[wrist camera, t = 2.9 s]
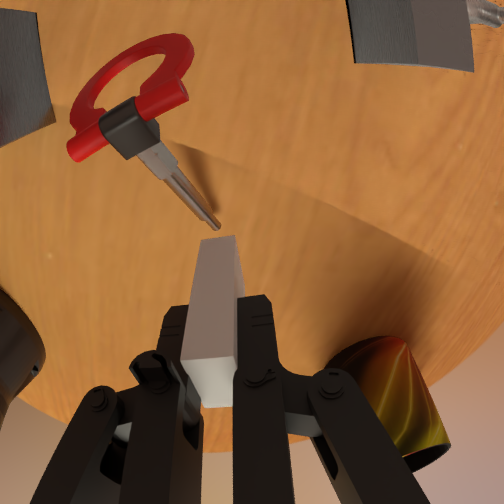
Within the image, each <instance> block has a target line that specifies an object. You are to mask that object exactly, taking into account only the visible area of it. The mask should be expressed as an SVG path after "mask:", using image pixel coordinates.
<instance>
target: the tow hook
mask: <svg viewBox="0 0 504 504" xmlns="http://www.w3.org/2000/svg"><path fill="white" fill-rule="evenodd" d="M155 54H165V55H166V56H165V59H164V61H163V63H162V64H161V65H160V66H159V68H158V69H157V70H156V71H155V72H154V73H153V74H152V75H151V76H150V77H149V78H148V79H147V80H146V81H145V82H144V83H143V84H142V85H141V87H140V95H139V96H137V97H136V96H133V97H131V98H129V99H127V100H126V101H124V102H122V103H121V104H119V105H117V106H116V107H114V108H113V109H111V110H109V111H108V112H107V111H106V110H105V109H104V108H99V109H94V107H93V106H94V103H95V100H96V98H97V97H98V95H99V93H100V92H101V90H102V89H103V88H104V87H105V85H106V84H107V83H108V82H109V81H110V80H111V79H112V78H113V77H115V76H116V75H117V74H118V73H119V72H120V71H122V70H123V69H125V68H126V67H128V66H129V65H131V64H133V63H134V62H136V61H138V60H140V59H143V58H145V57H147V56H151V55H155ZM194 55H195V54H194V48H193V45H192V43H191V42H190V40H189V39H188V38H187V37H186V36H185V35H182V34H176V33H171V34H163V35H159V36H155V37H152V38H149V39H147V40H144V41H142V42H140V43H138V44H136V45H134V46H132V47H130V48H128V49H127V50H125V51H123V52H122V53H120V54H119V55H118V56H116V57H115V58H113V59H112V60H110V61H109V62H108V63H107V64H106V65H105V66H103V67H102V68H101V69H100V70H99V71H98V72H97V73H96V74H95V75H94V76H93V77H92V78H91V79H90V80H89V81H88V82H87V84H86V85H85V86H84V87H83V89H82V90H81V91H80V93H79V94H78V96H77V98H76V100H75V101H74V103H73V106H72V109H71V112H70V124H71V125H72V127H73V128H74V129H75V130H76V136H74V137H73V138H71V139H70V140H69V141H68V142H67V146H66V147H67V151H68V154H69V156H70V157H71V158H72V159H73V160H74V161H75V162H81V161H83V160H84V159H86V158H87V157H89V156H90V155H92V154H93V153H95V152H97V151H98V150H100V149H101V148H103V147H104V146H106V145H108V144H109V143H110V144H111V145H112V146H113V147H114V148H115V149H116V150H117V151H118V152H119V153H120V154H121V155H122V156H123V157H124V158H125V159H126V160H128V159H130V158H132V157H134V156H135V155H136V156H137V157H138V158H139V159H140V160H141V161H142V162H143V163H144V165H145V166H146V167H147V168H148V169H149V170H150V171H151V172H152V173H153V174H154V175H155V176H156V177H157V178H158V179H160V180H163V181H164V182H165V183H166V184H167V185H168V186H169V187H170V188H171V189H172V191H173V192H174V193H175V194H176V195H177V196H178V197H179V198H180V199H181V200H182V201H183V202H184V203H185V204H186V206H187V207H188V208H189V209H190V210H191V211H192V212H193V213H194V214H195V215H196V216H197V217H198V218H199V219H200V220H201V221H205V222H206V223H207V224H208V225H209V226H210V227H211V228H212V229H213V230H214V231H217V230H219V229H220V228H221V223H220V222H219V221H218V220H217V218H216V217H215V216H214V215H213V209H212V208H211V207H210V205H209V204H208V203H207V202H206V201H205V199H204V198H203V197H202V196H201V194H200V193H199V192H198V191H197V190H196V188H195V187H194V186H193V185H192V183H191V182H190V181H189V180H188V179H187V177H186V176H185V175H184V174H183V172H182V171H181V170H180V169H179V168H178V166H177V165H178V161H177V160H176V159H175V157H174V156H173V155H172V154H171V152H170V151H169V150H168V149H167V147H166V146H165V145H164V144H163V143H162V141H161V140H160V129H159V124H158V122H157V121H156V120H155V117H157V116H159V115H161V114H163V113H165V112H167V111H169V110H171V109H173V108H175V107H177V106H179V105H181V104H183V103H185V102H187V101H189V96H188V93H187V90H186V88H185V86H184V84H183V83H182V81H181V80H180V79H181V78H182V77H183V75H184V74H185V73H186V71H187V70H188V68H189V67H190V65H191V63H192V60H193V57H194Z"/></svg>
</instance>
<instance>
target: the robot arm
mask: <svg viewBox="0 0 504 504" xmlns="http://www.w3.org/2000/svg"><path fill="white" fill-rule="evenodd" d="M159 336H160V338H159V340H158V344H157V348H156V350H151V351H146V352H144V353H142V354H140V355H138V356H137V357H136V358H135V359H134V360H133V361H132V362H131V364H130V366H129V369H130V371H131V372H132V374H133V375H134V377H135V378H136V380H137V381H138V383H139V385H138V386H135V387H133V388H130V389H126V390H123V391H120V392H115V391H114V390H113V389H112V388H110V387H109V386H98V387H94V388H93V389H91V390H90V391H88V393H87V394H86V395H85V396H84V398H83V400H82V401H81V403H80V405H79V407H78V409H77V410H76V412H75V414H74V416H73V418H72V419H71V421H70V423H69V425H68V427H67V429H66V431H65V433H64V435H63V436H62V438H61V440H60V442H59V444H58V446H57V448H56V450H55V452H54V454H53V456H52V458H51V460H50V462H49V464H48V466H47V468H46V470H45V472H44V474H43V476H42V478H41V480H40V482H39V484H38V487H37V489H36V491H35V493H34V495H33V497H32V500H31V502H30V504H201V478H202V453H203V432H204V420H203V416H202V415H201V413H200V407H201V402H202V404H203V406H204V407H205V408H214V407H230V406H233V504H295V498H294V488H293V478H292V469H291V460H290V450H289V441H288V433H289V434H295V435H301V436H308V437H310V439H311V441H312V443H313V445H314V447H315V449H316V452H317V454H318V456H319V458H320V460H321V462H322V465H323V466H324V468H325V471H326V473H327V475H328V477H329V479H330V481H331V484H332V486H333V488H334V490H335V492H336V494H337V496H338V498H339V500H340V502H341V504H430V502H429V500H428V499H427V497H426V495H425V494H424V492H423V491H422V488H421V487H420V485H419V483H418V482H417V480H416V479H415V477H414V475H413V474H412V472H411V470H410V469H409V467H408V465H407V464H406V462H405V460H404V459H403V457H402V455H401V454H400V452H399V451H398V449H397V447H396V446H395V444H394V442H393V441H392V439H391V438H390V436H389V434H388V433H387V431H386V429H385V428H384V426H383V425H382V423H381V421H380V420H379V418H378V417H377V415H376V413H375V412H374V410H373V408H372V407H371V405H370V404H369V402H368V400H367V399H366V397H365V396H364V394H363V392H362V391H361V389H360V388H359V386H358V385H357V383H356V381H355V380H354V378H353V377H352V376H351V375H350V374H349V373H348V372H346V371H343V370H341V369H335V368H329V369H324V370H321V371H319V372H317V373H316V374H314V375H313V376H304V375H298V374H294V373H292V372H290V371H288V370H286V369H285V368H284V367H283V366H282V365H281V363H280V362H279V357H278V349H277V341H276V333H275V326H274V319H273V312H272V304H271V302H270V301H269V299H268V298H267V297H266V296H265V294H263V295H256V296H248V297H245V284H244V279H243V274H242V269H241V264H240V259H239V254H238V249H237V243H236V238H235V235H232V236H225V237H219V238H212V239H205V240H201V243H200V248H199V253H198V259H197V264H196V269H195V274H194V280H193V285H192V291H191V296H190V302H189V305H180V306H171V308H170V309H169V310H168V312H167V313H166V314H165V316H164V319H163V323H162V329H161V331H160V335H159ZM45 358H46V353H45V348H44V344H43V342H42V339H41V337H40V335H39V333H38V332H37V330H36V328H35V327H34V325H33V324H32V322H31V321H30V319H29V318H28V317H27V316H26V314H25V313H24V312H23V311H22V310H21V308H20V307H19V306H18V305H17V304H16V303H15V302H14V301H13V300H12V299H11V298H10V297H9V296H8V295H7V294H6V293H5V292H4V291H2V290H1V289H0V429H1V427H2V424H3V421H4V417H5V415H6V412H7V410H8V407H9V405H10V403H11V402H12V401H13V399H14V398H15V397H16V396H17V395H18V394H19V393H20V392H21V391H22V390H23V389H24V388H25V387H26V386H27V385H28V384H29V383H30V382H31V381H32V380H33V379H34V377H36V376H37V375H38V374H39V372H40V371H41V369H42V367H43V364H44V362H45Z"/></svg>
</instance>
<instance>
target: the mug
mask: <svg viewBox="0 0 504 504" xmlns="http://www.w3.org/2000/svg"><path fill="white" fill-rule="evenodd" d="M329 368H335V369H341V370H343V371H346V372H348V373H349V374H350V375H351V376H352V377H353V378H354V380H355V381H356V383H357V385H358V386H359V388H360V389H361V391H362V392H363V394H364V396H365V397H366V399H367V400H368V402H369V404H370V405H371V407H372V408H373V410H374V412H375V413H376V415H377V417H378V418H379V420H380V421H381V423H382V425H383V426H384V428H385V429H386V431H387V433H388V434H389V436H390V438H391V439H392V441H393V442H394V444H395V446H396V447H397V449H398V451H399V452H400V454H401V455H402V457H403V459H404V460H405V462H406V464H407V465H408V467H409V469H410V470H411V472H412V473H413V472H416V471H418V470H420V469H422V468H423V467H425V466H427V465H429V464H430V463H432V462H434V461H435V460H437V459H438V458H440V457H441V456H442V455H444V454H445V453H446V452H447V451H448V450H449V448H450V447H451V443H450V441H449V438H448V436H447V433H446V431H445V428H444V426H443V423H442V421H441V418H440V416H439V414H438V411H437V409H436V406H435V404H434V402H433V399H432V397H431V395H430V393H429V390H428V388H427V386H426V384H425V382H424V379H423V377H422V375H421V373H420V371H419V369H418V367H417V364H416V362H415V360H414V358H413V356H412V354H411V352H410V350H409V348H408V346H407V344H406V343H405V341H403V340H402V339H400V338H397V337H393V336H379V337H374V338H369V339H366V340H363V341H360V342H358V343H356V344H353V345H351V346H349V347H348V348H346V349H344V350H342V351H341V352H340V353H338V354H337V355H336V356H334V357H333V358H332V359H331V360H330V361H329V362H328V364H327V365H326V367H325V368H324V369H329Z"/></svg>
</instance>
